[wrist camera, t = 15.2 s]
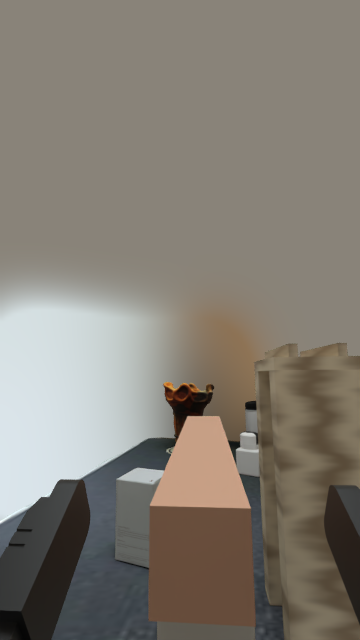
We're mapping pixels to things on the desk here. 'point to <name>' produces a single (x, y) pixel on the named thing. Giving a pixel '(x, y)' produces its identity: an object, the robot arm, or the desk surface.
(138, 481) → the supplement box
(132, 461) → the desk surface
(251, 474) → the medicine bottle
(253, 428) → the travel mug
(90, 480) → the desk surface
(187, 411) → the decorative vase
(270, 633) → the desk surface
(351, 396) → the bridge
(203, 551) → the bar
